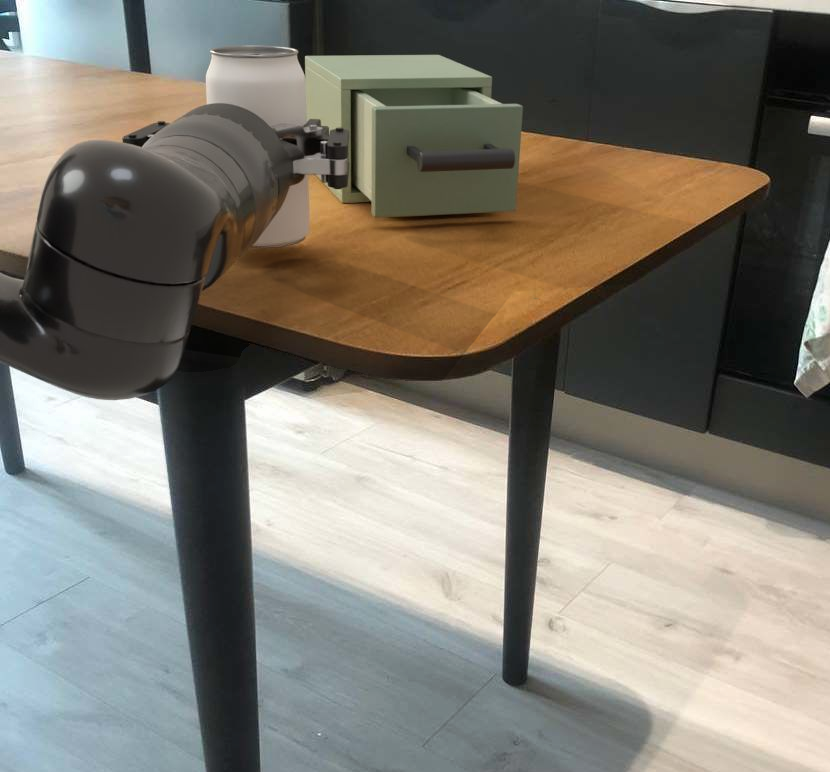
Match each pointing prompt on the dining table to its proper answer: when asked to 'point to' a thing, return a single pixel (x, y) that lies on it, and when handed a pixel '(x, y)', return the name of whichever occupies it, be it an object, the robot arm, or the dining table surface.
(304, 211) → the can
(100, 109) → the dining table surface
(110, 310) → the robot arm
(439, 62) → the cabinet
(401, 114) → the drawer
